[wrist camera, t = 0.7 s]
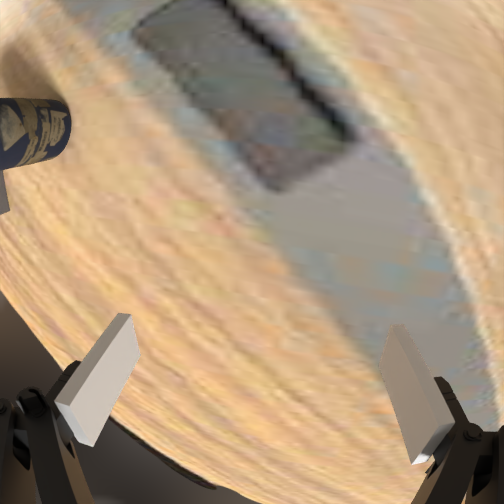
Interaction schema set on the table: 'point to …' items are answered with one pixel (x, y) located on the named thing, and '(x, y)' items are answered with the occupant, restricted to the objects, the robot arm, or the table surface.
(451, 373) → the table surface
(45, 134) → the canister
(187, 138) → the table surface
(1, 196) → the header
